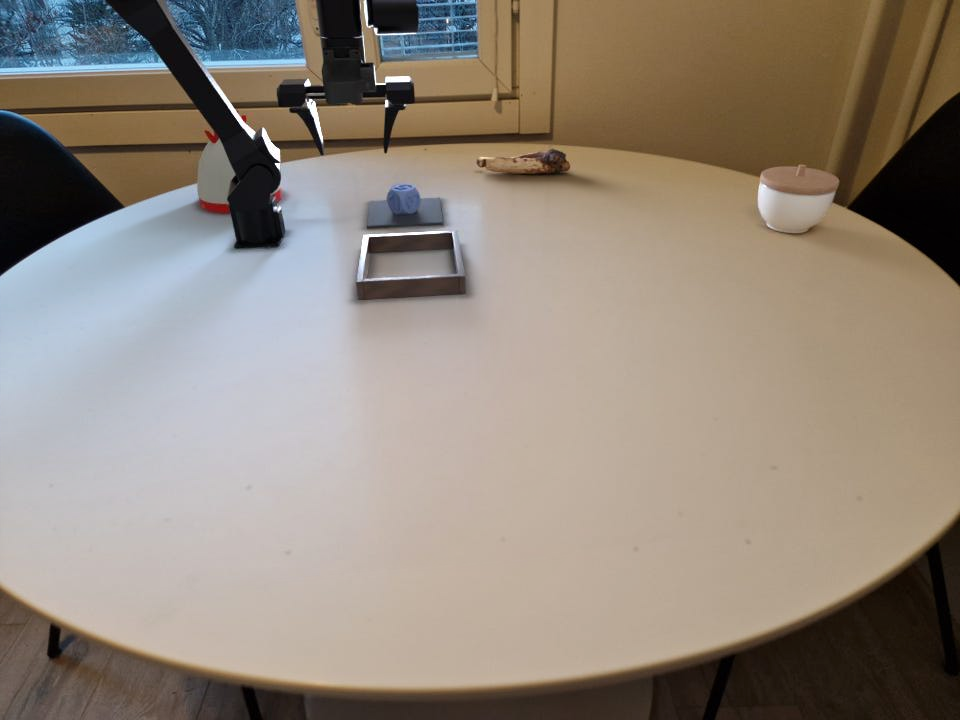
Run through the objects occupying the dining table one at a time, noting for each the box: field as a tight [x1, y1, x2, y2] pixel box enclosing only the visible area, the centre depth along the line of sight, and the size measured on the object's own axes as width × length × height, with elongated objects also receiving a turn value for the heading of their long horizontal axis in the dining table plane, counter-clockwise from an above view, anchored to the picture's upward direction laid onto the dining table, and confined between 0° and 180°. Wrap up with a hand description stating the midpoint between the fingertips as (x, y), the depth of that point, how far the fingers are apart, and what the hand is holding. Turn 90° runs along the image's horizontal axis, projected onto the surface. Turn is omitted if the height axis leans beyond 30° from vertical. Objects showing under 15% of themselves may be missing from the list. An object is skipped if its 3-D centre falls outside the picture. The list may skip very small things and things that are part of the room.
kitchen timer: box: [196, 109, 283, 214], centre depth 111 cm, size 14×14×15 cm
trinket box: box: [757, 163, 840, 234], centre depth 98 cm, size 11×11×9 cm
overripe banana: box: [476, 148, 571, 175], centre depth 126 cm, size 9×5×18 cm
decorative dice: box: [386, 183, 422, 215], centre depth 106 cm, size 4×4×4 cm
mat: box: [366, 197, 444, 229], centre depth 108 cm, size 12×12×1 cm
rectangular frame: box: [355, 230, 467, 301], centre depth 88 cm, size 14×16×2 cm
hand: (354, 153), depth 96 cm, fingers open, 9 cm apart
